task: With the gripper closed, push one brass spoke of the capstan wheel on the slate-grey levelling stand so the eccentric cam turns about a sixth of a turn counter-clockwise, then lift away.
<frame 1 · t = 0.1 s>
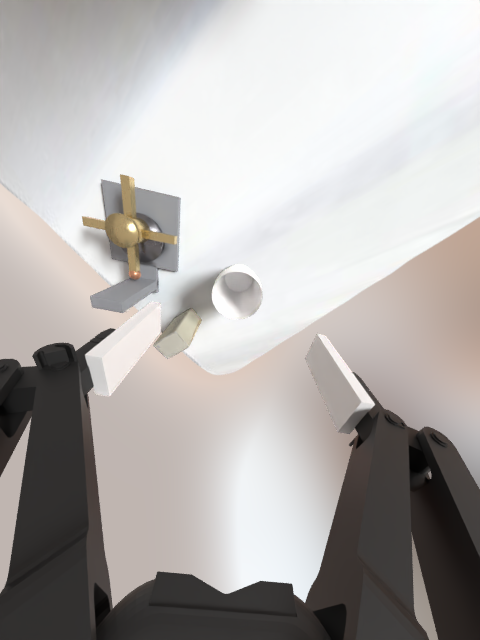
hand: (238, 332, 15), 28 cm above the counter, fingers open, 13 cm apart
skincare box: (188, 318, 47), on the counter
cup: (239, 278, 41), on the counter
stand: (145, 230, 37), on the counter
capstan: (132, 234, 33), point 5 cm above the counter, hinge at 0.0°
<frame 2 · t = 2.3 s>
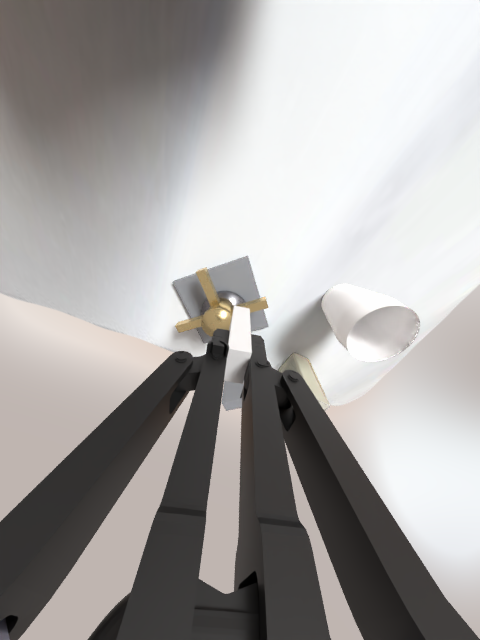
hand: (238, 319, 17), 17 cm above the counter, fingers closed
skincare box: (292, 363, 41), on the counter
cup: (338, 300, 34), on the counter
stand: (223, 303, 35), on the counter
capstan: (221, 317, 31), point 5 cm above the counter, hinge at 0.0°
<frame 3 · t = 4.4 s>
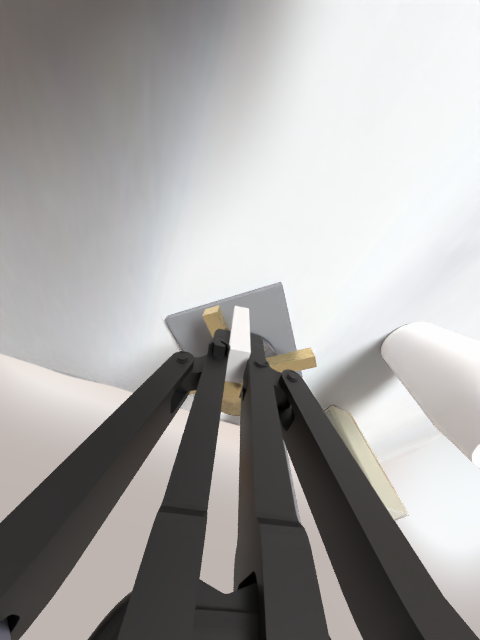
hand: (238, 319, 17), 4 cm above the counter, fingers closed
skincare box: (328, 417, 31), on the counter
cup: (406, 342, 23), on the counter
stand: (239, 346, 24), on the counter
capstan: (240, 375, 20), point 5 cm above the counter, hinge at 0.0°, touching gripper
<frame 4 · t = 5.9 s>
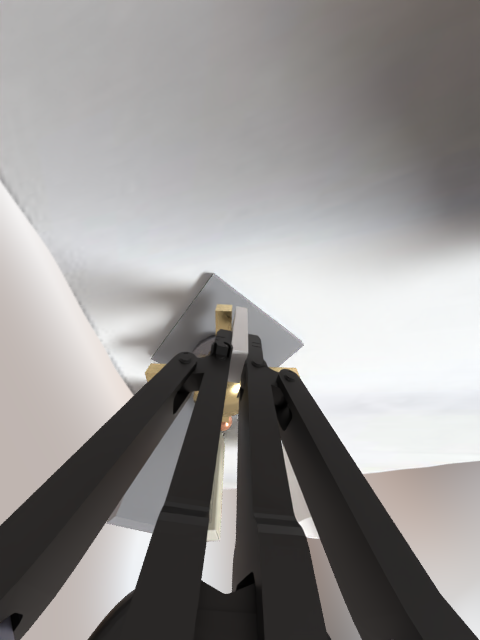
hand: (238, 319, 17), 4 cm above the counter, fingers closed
skincare box: (208, 437, 34), on the counter
cup: (299, 426, 32), on the counter
stand: (226, 347, 24), on the counter
capstan: (223, 376, 20), point 5 cm above the counter, hinge at 36.4°, touching gripper
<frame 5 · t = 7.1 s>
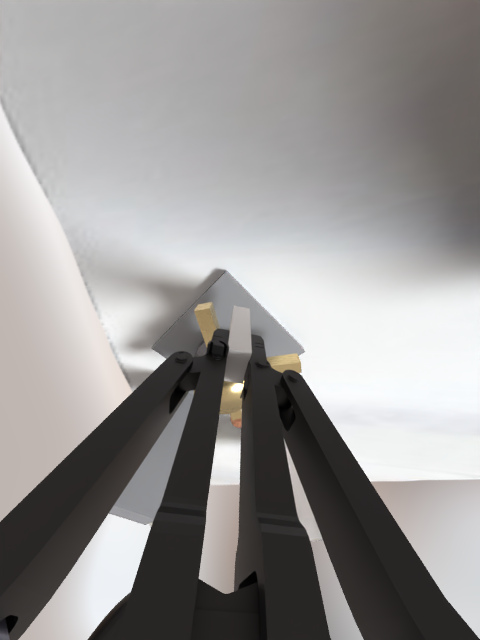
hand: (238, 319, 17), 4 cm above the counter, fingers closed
cup: (288, 430, 33), on the counter
stand: (228, 345, 24), on the counter
capstan: (225, 374, 20), point 5 cm above the counter, hinge at 56.8°
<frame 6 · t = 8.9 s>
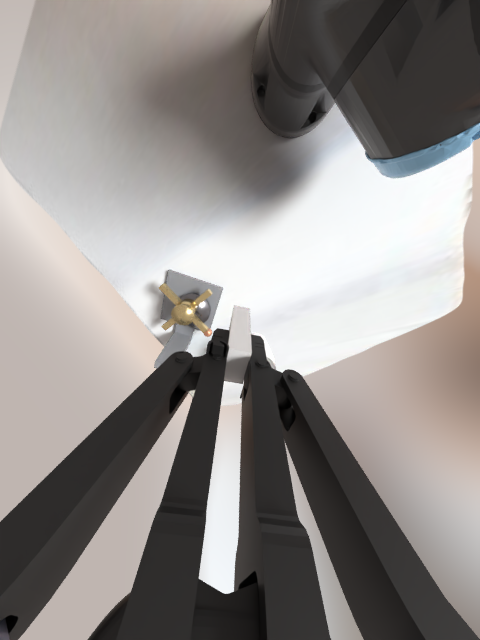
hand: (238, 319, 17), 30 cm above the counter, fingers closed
cup: (254, 341, 55), on the counter
stand: (191, 302, 49), on the counter
capstan: (188, 311, 45), point 5 cm above the counter, hinge at 56.8°
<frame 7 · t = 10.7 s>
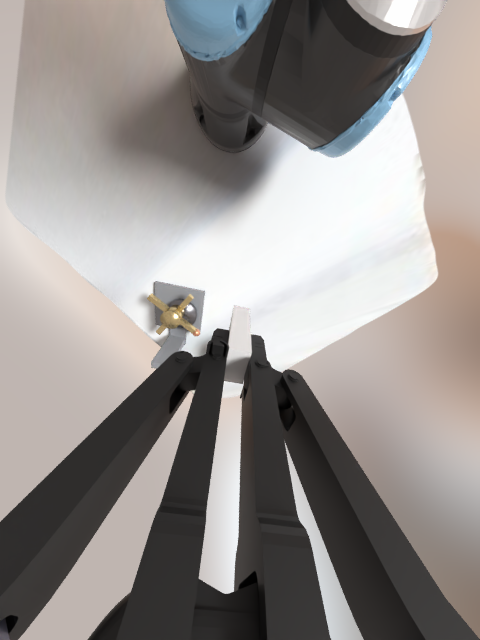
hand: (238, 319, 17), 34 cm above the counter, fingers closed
stand: (179, 307, 55), on the counter
capstan: (176, 315, 51), point 5 cm above the counter, hinge at 56.8°
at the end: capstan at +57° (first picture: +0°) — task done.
